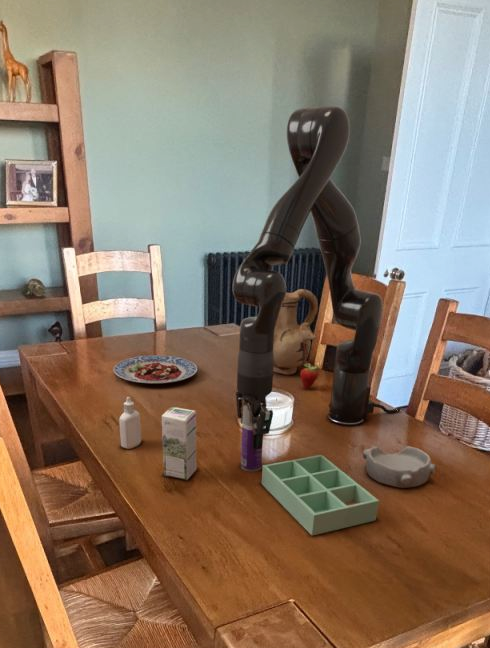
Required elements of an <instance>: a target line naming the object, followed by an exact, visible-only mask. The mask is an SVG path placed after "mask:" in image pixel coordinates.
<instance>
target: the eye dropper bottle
mask: <svg viewBox="0 0 490 648" xmlns="http://www.w3.org/2000/svg"><path fill="white" fill-rule="evenodd" d="M118 423H119V435H120V446H121V448H123V449H127V450H129V449H134V448H136V447H138V446H139V445H141V443H142V441H143V439H142V424H141V414H140V412H139V411H137V410H135V403H134V401H132V399H131V397H130V396H126V400H125V402H123V413H122V414H121V415H120V417H119V421H118Z"/></svg>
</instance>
